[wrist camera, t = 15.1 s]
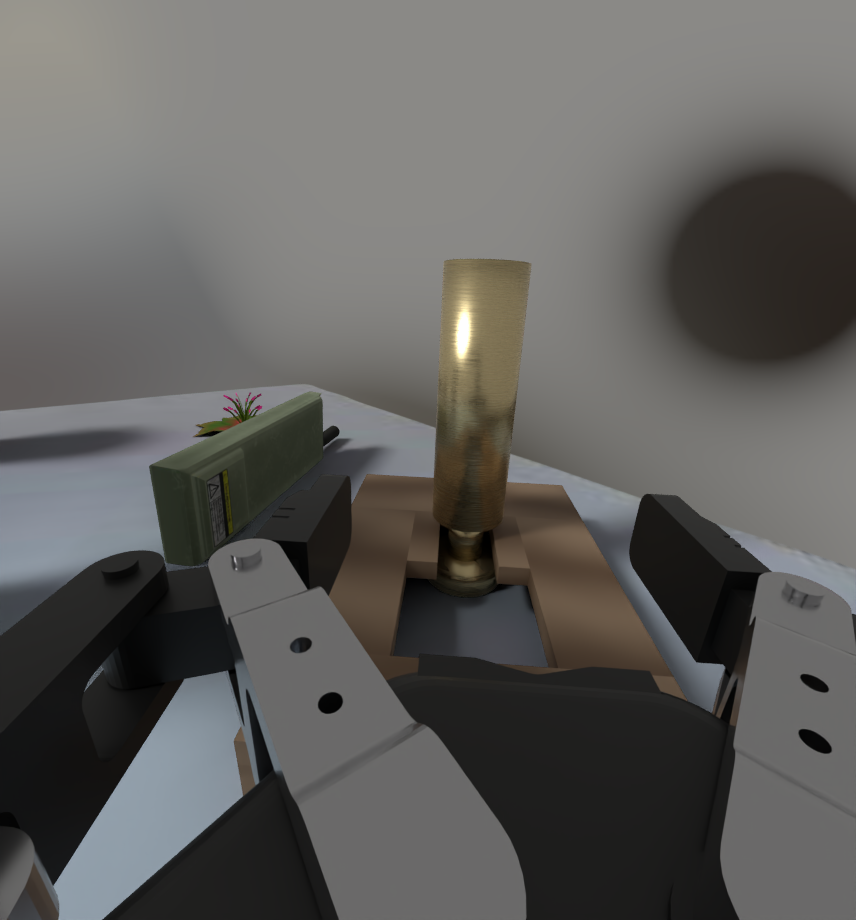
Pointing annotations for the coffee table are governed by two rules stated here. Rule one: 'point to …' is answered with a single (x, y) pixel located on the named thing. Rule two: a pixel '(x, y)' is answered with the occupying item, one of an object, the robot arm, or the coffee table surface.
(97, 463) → the coffee table surface
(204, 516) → the handheld radio
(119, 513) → the coffee table surface
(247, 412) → the lily flower
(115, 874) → the coffee table surface
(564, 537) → the keyhole plate
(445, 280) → the brass peg
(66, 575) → the coffee table surface
